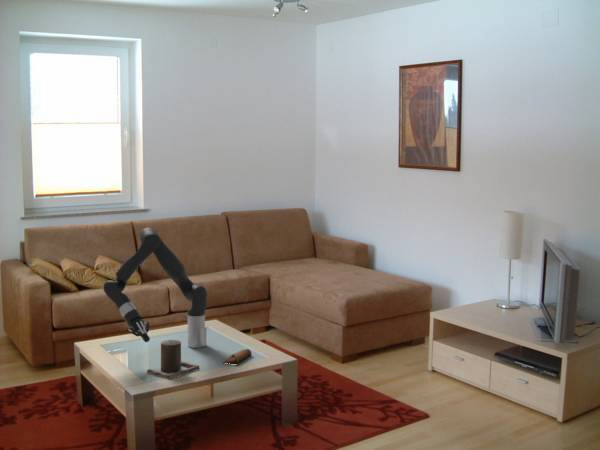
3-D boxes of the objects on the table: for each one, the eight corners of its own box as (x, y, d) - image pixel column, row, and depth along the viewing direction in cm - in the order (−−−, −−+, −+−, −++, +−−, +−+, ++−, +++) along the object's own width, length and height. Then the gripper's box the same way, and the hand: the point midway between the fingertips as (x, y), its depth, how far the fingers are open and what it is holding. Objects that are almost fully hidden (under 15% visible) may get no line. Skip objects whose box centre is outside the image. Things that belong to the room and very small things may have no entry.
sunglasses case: (236, 353, 371) (242, 343, 369) (247, 361, 369) (253, 351, 367) (221, 363, 354) (227, 353, 352) (232, 372, 352) (238, 361, 350)
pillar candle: (174, 374, 338) (174, 343, 336) (156, 371, 342) (156, 340, 340) (185, 368, 347) (185, 338, 345) (167, 365, 351) (167, 336, 349)
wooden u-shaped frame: (147, 372, 340) (147, 369, 339) (175, 362, 355) (175, 359, 355) (171, 379, 331) (171, 376, 331) (199, 368, 346) (199, 365, 346)
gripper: (136, 315, 363) (154, 342, 358) (116, 320, 352) (134, 348, 347) (143, 306, 359) (161, 333, 354) (123, 311, 348) (141, 339, 343)
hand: (147, 341), depth 350 cm, fingers closed
